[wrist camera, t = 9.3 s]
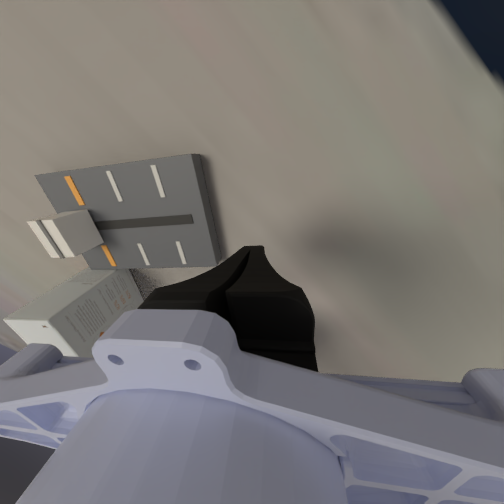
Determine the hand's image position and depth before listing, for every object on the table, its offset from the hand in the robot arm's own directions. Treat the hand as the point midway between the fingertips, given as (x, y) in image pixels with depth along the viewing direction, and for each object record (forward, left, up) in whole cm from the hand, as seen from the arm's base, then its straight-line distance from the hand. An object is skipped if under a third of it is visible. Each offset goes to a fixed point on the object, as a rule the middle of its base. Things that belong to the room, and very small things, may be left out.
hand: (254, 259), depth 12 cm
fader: (+1, +21, -7) cm, 22 cm away
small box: (-9, +23, -10) cm, 27 cm away
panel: (+1, +15, -9) cm, 18 cm away
